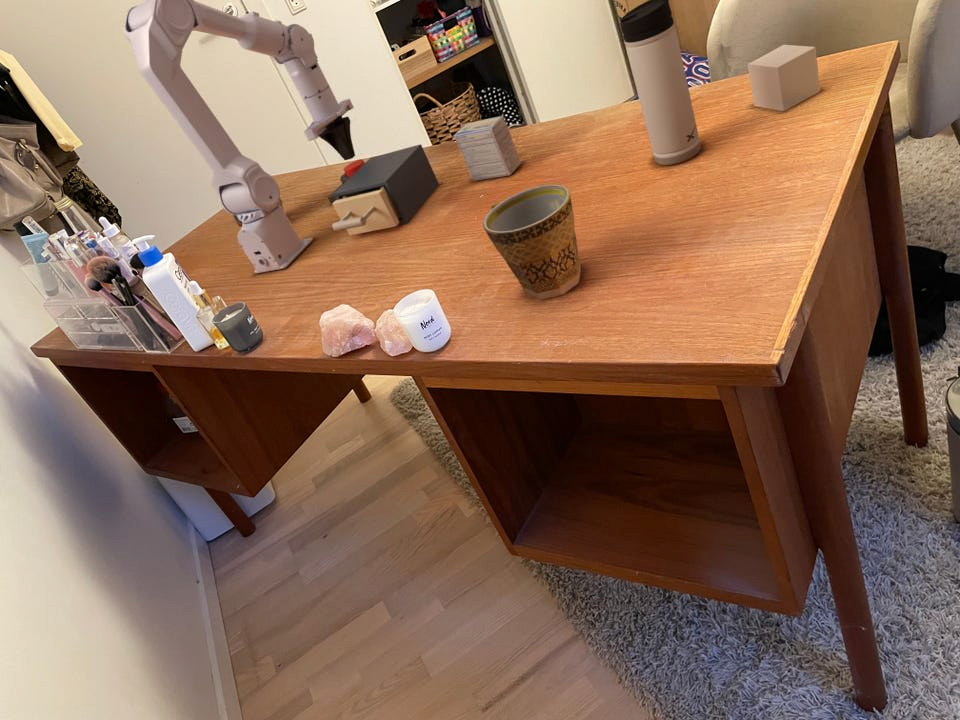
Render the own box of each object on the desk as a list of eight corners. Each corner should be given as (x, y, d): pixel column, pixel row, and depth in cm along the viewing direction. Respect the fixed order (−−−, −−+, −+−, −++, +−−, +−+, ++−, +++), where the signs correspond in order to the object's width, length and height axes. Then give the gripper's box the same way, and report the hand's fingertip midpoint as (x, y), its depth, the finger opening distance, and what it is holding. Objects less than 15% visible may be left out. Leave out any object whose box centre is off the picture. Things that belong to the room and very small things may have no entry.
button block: (369, 196, 134) (361, 180, 132) (331, 205, 139) (323, 189, 137) (396, 167, 142) (389, 152, 140) (359, 177, 147) (352, 162, 145)
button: (360, 175, 136) (356, 167, 135) (343, 179, 138) (339, 171, 137) (370, 165, 139) (366, 157, 138) (354, 169, 141) (350, 161, 140)
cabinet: (407, 223, 114) (386, 180, 110) (355, 233, 120) (333, 193, 116) (439, 184, 123) (421, 143, 119) (389, 196, 129) (370, 157, 125)
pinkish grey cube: (789, 87, 98) (783, 44, 94) (820, 91, 93) (815, 46, 89) (754, 106, 97) (747, 64, 94) (783, 111, 92) (777, 67, 89)
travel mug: (709, 152, 91) (676, -4, 80) (660, 170, 92) (621, 19, 82) (697, 138, 96) (665, -12, 85) (651, 155, 97) (613, 10, 87)
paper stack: (522, 163, 115) (504, 114, 110) (510, 176, 112) (491, 127, 108) (485, 169, 120) (466, 122, 115) (472, 182, 117) (452, 134, 113)
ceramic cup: (613, 268, 77) (587, 190, 72) (547, 317, 75) (515, 239, 69) (546, 247, 88) (519, 177, 82) (486, 289, 85) (454, 220, 80)
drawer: (382, 242, 109) (364, 208, 106) (335, 251, 114) (316, 218, 111) (427, 189, 121) (412, 157, 117) (382, 199, 126) (366, 169, 123)
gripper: (311, 102, 123) (347, 170, 130) (350, 72, 132) (382, 137, 140) (283, 112, 126) (320, 178, 134) (323, 82, 136) (355, 145, 143)
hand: (350, 158), depth 137 cm, fingers closed
